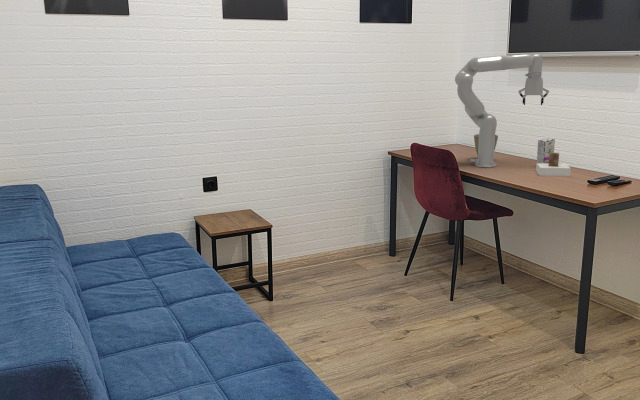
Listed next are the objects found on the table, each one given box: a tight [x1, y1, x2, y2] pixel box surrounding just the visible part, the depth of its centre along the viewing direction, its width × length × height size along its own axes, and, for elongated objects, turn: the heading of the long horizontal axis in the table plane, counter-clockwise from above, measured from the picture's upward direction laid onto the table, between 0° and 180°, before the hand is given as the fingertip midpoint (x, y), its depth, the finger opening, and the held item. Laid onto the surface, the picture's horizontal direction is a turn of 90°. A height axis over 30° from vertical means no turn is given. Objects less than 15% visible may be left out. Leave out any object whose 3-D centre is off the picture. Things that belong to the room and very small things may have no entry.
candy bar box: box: [536, 138, 556, 164], centre depth 349 cm, size 11×5×16 cm, turn 129°
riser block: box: [535, 162, 572, 177], centre depth 331 cm, size 16×14×5 cm
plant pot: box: [473, 133, 499, 157], centre depth 375 cm, size 15×15×16 cm
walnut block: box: [549, 152, 560, 167], centre depth 329 cm, size 5×5×7 cm
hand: (532, 104), depth 350 cm, fingers open, 9 cm apart
